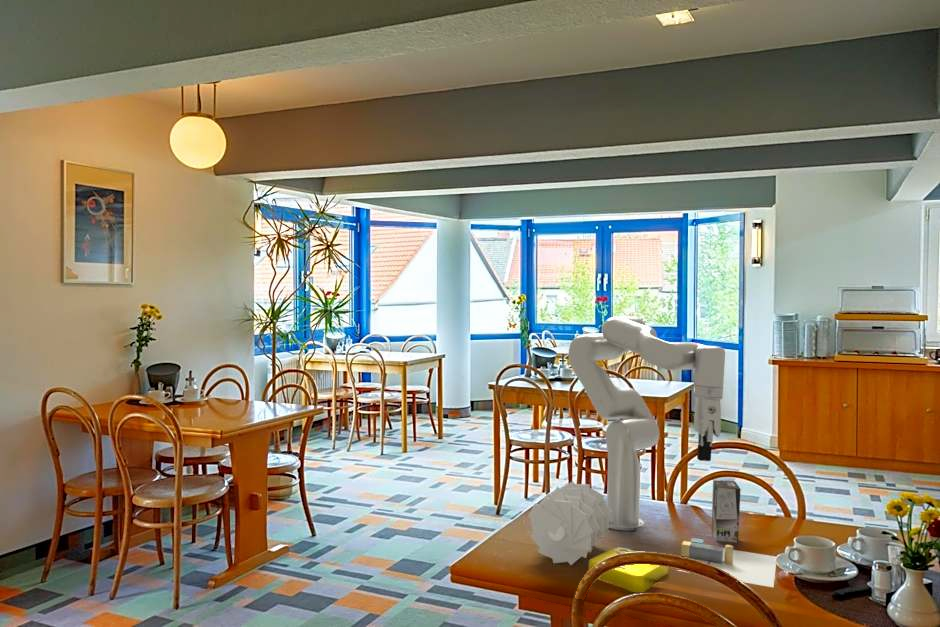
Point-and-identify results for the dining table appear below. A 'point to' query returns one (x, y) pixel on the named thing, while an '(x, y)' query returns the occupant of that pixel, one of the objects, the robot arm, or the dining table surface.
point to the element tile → (630, 572)
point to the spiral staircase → (569, 522)
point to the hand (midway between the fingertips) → (703, 459)
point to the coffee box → (725, 511)
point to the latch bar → (702, 551)
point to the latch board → (744, 565)
